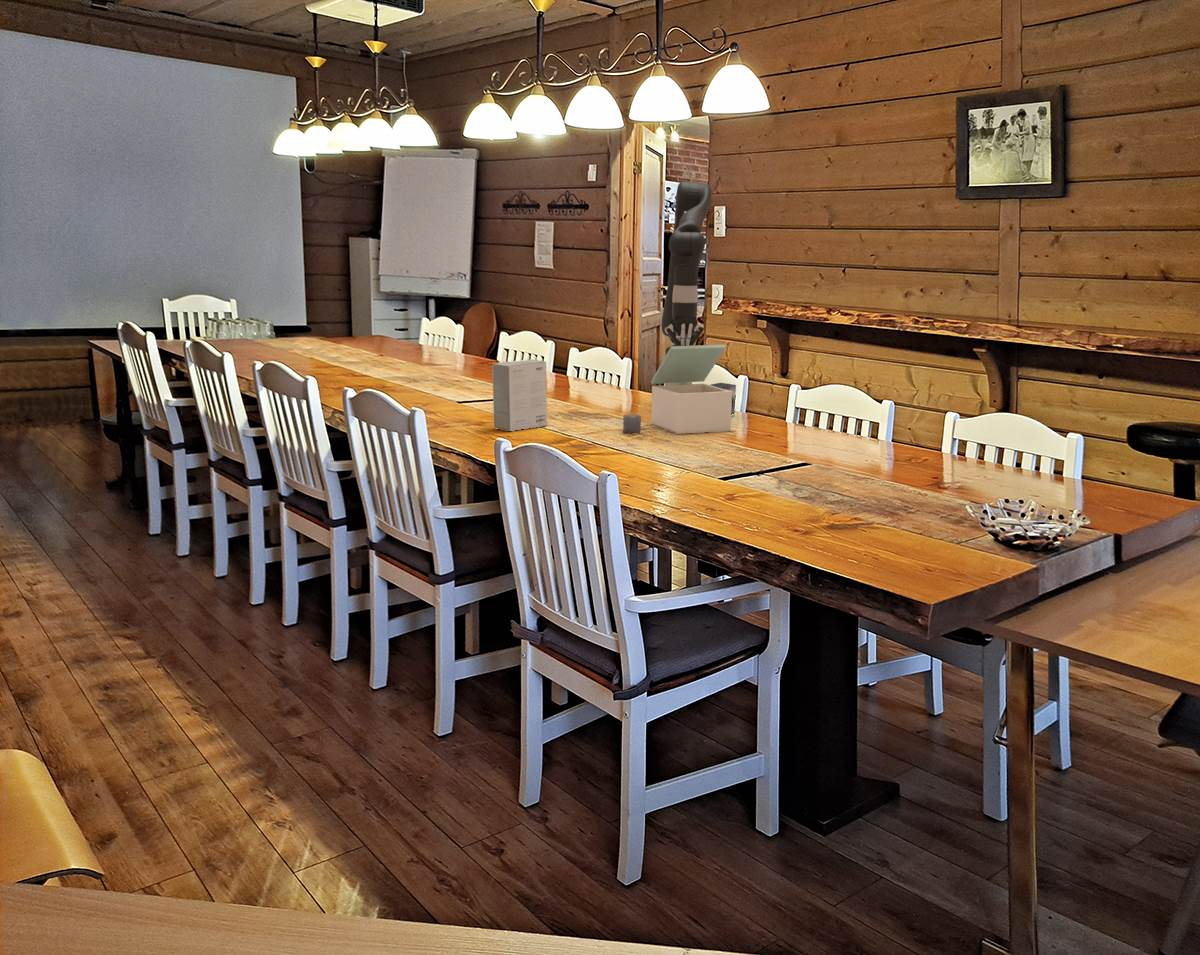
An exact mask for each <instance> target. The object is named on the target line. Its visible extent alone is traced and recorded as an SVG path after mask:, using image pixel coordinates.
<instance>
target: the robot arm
mask: <svg viewBox="0 0 1200 955" xmlns="http://www.w3.org/2000/svg"><path fill="white" fill-rule="evenodd" d="M712 192H713V191H712V188H711V185H710V184H707V183H704V182H697V181H683V180H682V181H680V182H679V183H678V185H677V189H676V194H675V207H674V210H675V211H674V227H673V232H672V234H671V236H670V238H669V240H668V241H669V242H668V249H669V252H670V256H669V264H668V265H669V266H668V267H669V268H668V276H667V277H668V280H667V287H666V288H667V289H666V295H665V300H664V306H663V309H662V310H663V311H662V317H661V331H662V334H663V336H665V337H668V339H669V340H670V341H671V343H672V345H670V346H668V347H667V348H666V349H665V355H666V354H667V353H668V351H669V349H670V347H671V346H695V343H696V341H697V340H698V339H699V338H700V336H701V335H702V334H703V332H704V331H705V329H704V327H703V326H701V325H699V322H698V319H697V316H698V303H699V302H698V300H699V296H698V295H699V293H698V292H699V291H698V290H699V289H698V277H699V275H698V274H699V266H700V263H701V259H702V256H703V254H704V250H705V247H706V238H705V236H704V235H703V233H702V228H703V224H704V221H705V219H706V217H707V214H708V212H709V211H710V208H711V207H710V206H711V202H712V194H713V193H712ZM685 384H693V382H683V383H664V385H685Z"/></svg>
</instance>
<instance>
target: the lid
mask: <svg viewBox="0 0 1200 955" xmlns="http://www.w3.org/2000/svg"><path fill="white" fill-rule="evenodd" d="M670 346H671V347H670ZM670 346H669V347H670V349H669V351H668V353H667V354H666V353H665V356H664V358H663V360H662V361H661V363H660V365H659V367H658V368H657V369H656V372H655V374H654V376H653V377H652V379H651V384H652V385H656V384H657V385H659V384H662V385H663V384H665V383H683V382H692V383H701V382H705V380H706V379H707V377H708V376H709V374H710V373H711V371H712V370H713V368H714V367H715V365H716V363H717V362H718V360H719V359H720V358H721V356H722V354H723V353H724V351H725V350H726V348H727V346H726V344H707V345H706V344H703V345H694V346H672V345H670Z"/></svg>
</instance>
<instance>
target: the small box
mask: <svg viewBox="0 0 1200 955" xmlns="http://www.w3.org/2000/svg"><path fill="white" fill-rule="evenodd" d="M710 385H711V386H714V387H718V388H721V389H725V390H728V391H732V407H731V415H732V414H734V415H735V413H736V412H735V411H736V407H735V406H736V391H737V388H736V387H737V384H732V383H728V382H727V383H725V382H716V383H711V384H710Z"/></svg>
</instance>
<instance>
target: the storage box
mask: <svg viewBox="0 0 1200 955" xmlns="http://www.w3.org/2000/svg"><path fill="white" fill-rule="evenodd" d="M731 407H732V391H728V390H725V389H721V388H718V387H714V386H711V384H707V383H692V384H685V385H665V384H664V385H652V386H651V414H650V415H651V418H650V421H651V422H650V425H651V424H652V426H654V425H655V426H654V427H656V426H658V428H659V427H660V429H661V428H663V429H662V430H664V429H666V430H668V431H667V432H669V431H671V432H670V433H672V432H673V434H674V433H676V434H675V435H677V434H679V435H682V434H681V433H694V434H704V432H709V433H720V432H719V431H723V432H731V430H732V429H731V428H732V416H731ZM666 430H665V431H666Z"/></svg>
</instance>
